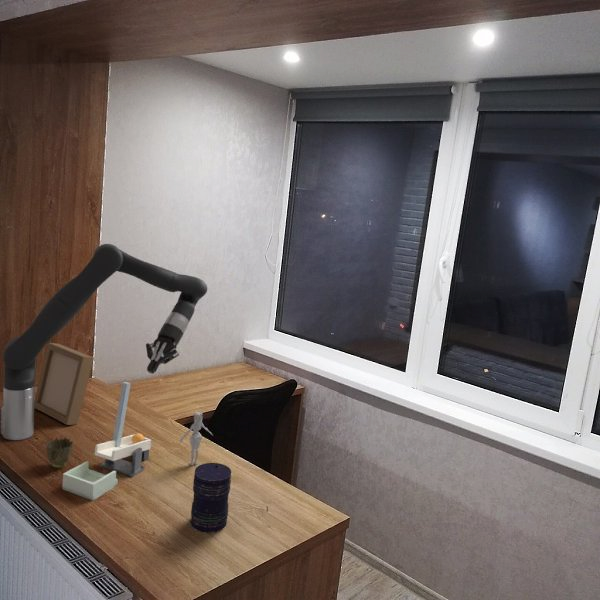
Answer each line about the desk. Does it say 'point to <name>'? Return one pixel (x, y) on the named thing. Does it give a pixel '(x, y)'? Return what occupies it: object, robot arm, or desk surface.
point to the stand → (128, 463)
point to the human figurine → (195, 436)
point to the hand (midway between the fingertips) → (150, 372)
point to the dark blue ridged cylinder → (210, 497)
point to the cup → (59, 452)
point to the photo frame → (63, 383)
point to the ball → (137, 438)
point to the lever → (121, 445)
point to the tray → (88, 481)
